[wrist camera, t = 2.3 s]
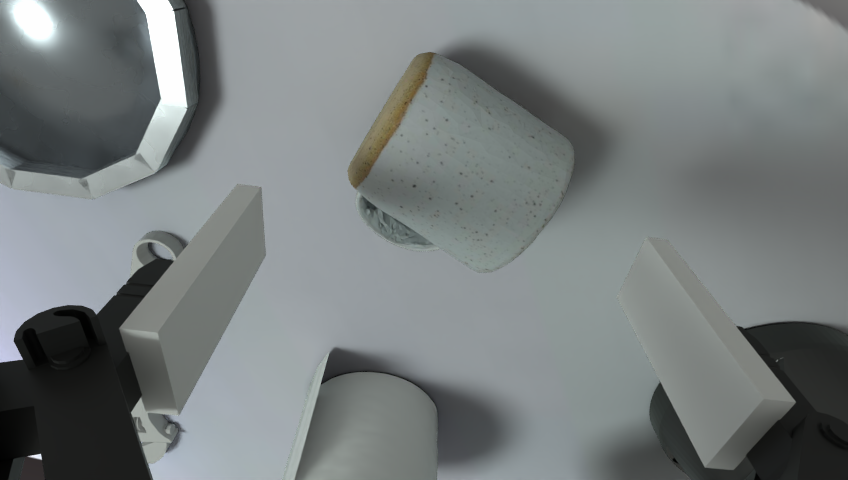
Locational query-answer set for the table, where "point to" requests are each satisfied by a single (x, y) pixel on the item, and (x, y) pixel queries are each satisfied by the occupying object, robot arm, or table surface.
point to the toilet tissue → (364, 430)
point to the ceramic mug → (459, 168)
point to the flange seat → (93, 92)
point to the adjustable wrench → (149, 425)
